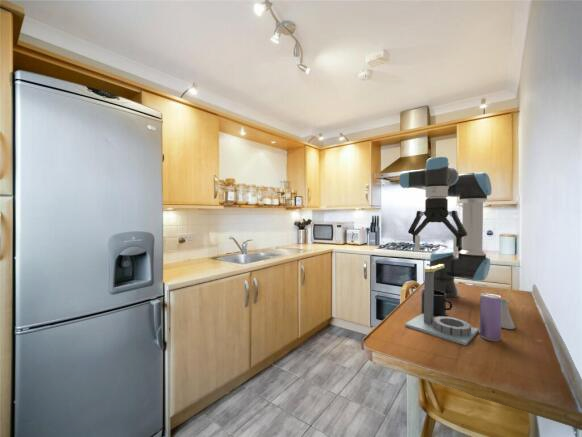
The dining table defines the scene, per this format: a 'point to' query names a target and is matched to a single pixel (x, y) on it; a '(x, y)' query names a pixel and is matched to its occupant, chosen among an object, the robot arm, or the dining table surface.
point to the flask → (506, 316)
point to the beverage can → (490, 316)
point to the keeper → (434, 268)
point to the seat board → (433, 331)
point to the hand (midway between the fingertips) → (435, 253)
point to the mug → (438, 303)
